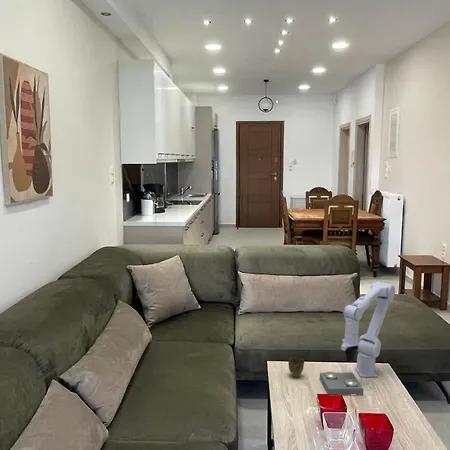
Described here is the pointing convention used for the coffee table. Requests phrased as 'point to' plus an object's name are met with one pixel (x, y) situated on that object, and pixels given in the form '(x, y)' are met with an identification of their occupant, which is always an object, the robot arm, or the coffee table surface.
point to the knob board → (341, 384)
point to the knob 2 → (350, 383)
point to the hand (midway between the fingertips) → (349, 361)
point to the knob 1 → (330, 375)
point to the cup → (296, 366)
